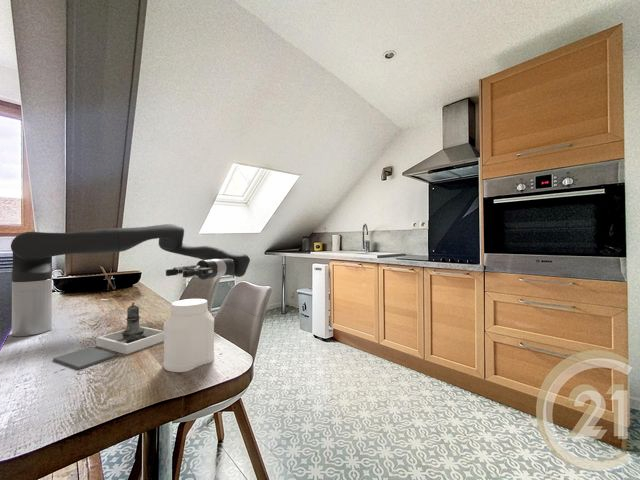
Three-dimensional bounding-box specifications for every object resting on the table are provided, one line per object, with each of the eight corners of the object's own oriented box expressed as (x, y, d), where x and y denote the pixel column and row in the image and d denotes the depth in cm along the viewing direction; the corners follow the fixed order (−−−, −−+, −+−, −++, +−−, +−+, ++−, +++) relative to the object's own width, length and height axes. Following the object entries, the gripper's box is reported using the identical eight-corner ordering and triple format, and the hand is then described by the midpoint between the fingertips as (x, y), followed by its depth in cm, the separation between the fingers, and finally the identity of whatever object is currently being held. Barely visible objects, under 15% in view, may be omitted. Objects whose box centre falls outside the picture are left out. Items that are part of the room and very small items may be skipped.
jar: (176, 376, 62) (176, 309, 62) (156, 364, 68) (156, 303, 68) (221, 358, 72) (221, 300, 72) (200, 349, 77) (200, 296, 77)
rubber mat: (53, 360, 70) (53, 357, 70) (90, 349, 78) (90, 346, 78) (79, 369, 65) (79, 367, 65) (116, 356, 73) (116, 354, 73)
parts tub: (96, 346, 80) (96, 337, 80) (138, 333, 91) (138, 325, 91) (126, 354, 74) (126, 345, 74) (167, 339, 85) (167, 331, 85)
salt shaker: (132, 347, 79) (133, 305, 79) (115, 345, 80) (115, 304, 80) (149, 340, 85) (149, 300, 85) (133, 338, 86) (133, 299, 86)
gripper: (198, 258, 113) (160, 262, 98) (225, 259, 107) (189, 263, 92) (198, 277, 113) (160, 283, 98) (225, 279, 107) (189, 285, 92)
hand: (174, 273), depth 95 cm, fingers open, 8 cm apart
